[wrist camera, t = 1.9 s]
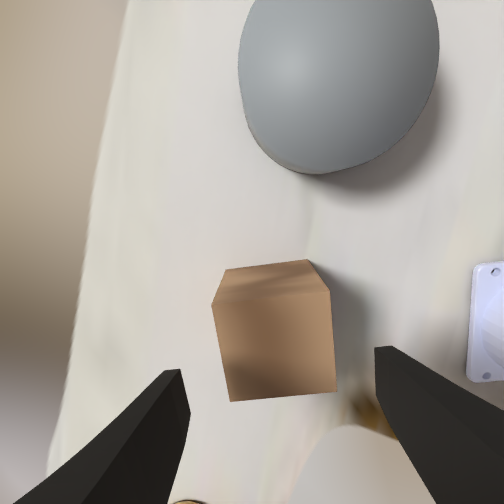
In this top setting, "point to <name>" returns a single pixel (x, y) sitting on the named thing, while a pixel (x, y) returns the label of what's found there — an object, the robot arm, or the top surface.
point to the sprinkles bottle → (187, 502)
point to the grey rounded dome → (335, 77)
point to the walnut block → (275, 331)
